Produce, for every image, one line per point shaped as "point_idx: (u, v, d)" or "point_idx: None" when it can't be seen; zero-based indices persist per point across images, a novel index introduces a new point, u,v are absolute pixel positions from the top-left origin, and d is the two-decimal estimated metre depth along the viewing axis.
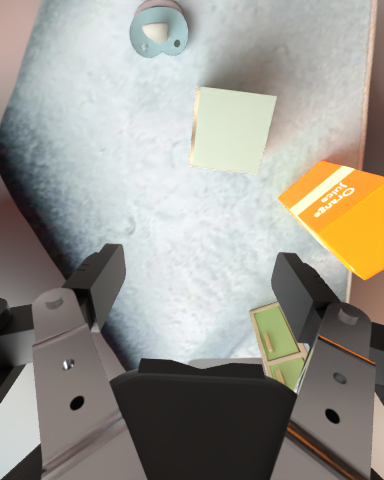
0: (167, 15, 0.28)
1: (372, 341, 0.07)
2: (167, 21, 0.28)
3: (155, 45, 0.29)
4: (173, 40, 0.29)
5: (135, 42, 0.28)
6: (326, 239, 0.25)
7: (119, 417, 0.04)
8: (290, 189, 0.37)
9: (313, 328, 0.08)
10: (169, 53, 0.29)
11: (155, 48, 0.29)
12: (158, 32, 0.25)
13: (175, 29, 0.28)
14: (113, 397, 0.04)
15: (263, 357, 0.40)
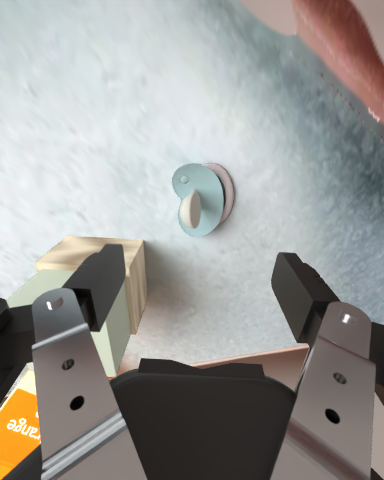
0: (216, 207, 0.23)
1: (372, 341, 0.07)
2: (210, 208, 0.23)
3: (187, 192, 0.22)
4: None
5: (185, 170, 0.20)
6: None
7: (119, 417, 0.04)
8: None
9: (313, 328, 0.08)
10: (180, 211, 0.23)
11: (184, 193, 0.22)
12: (184, 222, 0.19)
13: (203, 218, 0.23)
14: (113, 397, 0.04)
15: None
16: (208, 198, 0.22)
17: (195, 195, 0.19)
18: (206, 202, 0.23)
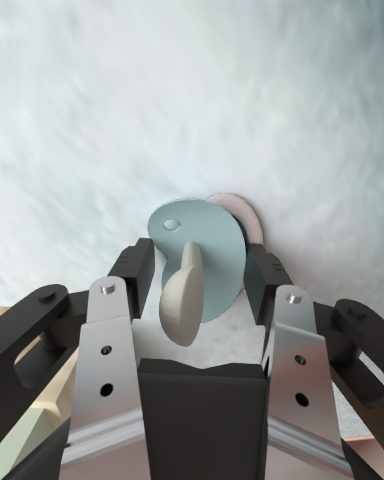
0: (231, 271, 0.13)
1: None
2: (221, 272, 0.13)
3: (178, 245, 0.12)
4: None
5: (174, 210, 0.10)
6: None
7: (140, 417, 0.04)
8: None
9: (267, 310, 0.09)
10: (165, 276, 0.13)
11: (172, 246, 0.12)
12: (168, 336, 0.08)
13: (207, 288, 0.13)
14: (138, 395, 0.04)
15: None
16: (217, 256, 0.12)
17: (193, 273, 0.09)
18: (213, 262, 0.12)
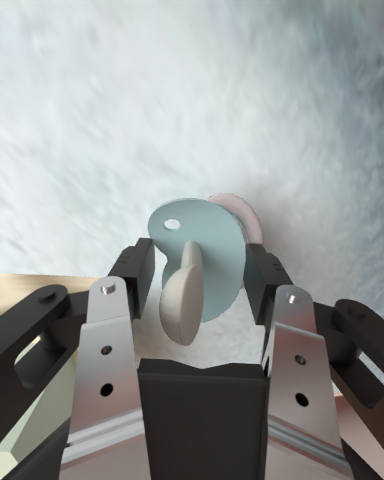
0: (231, 271, 0.13)
1: None
2: (221, 272, 0.13)
3: (178, 245, 0.12)
4: None
5: (174, 209, 0.10)
6: None
7: (140, 417, 0.04)
8: None
9: (267, 310, 0.09)
10: (165, 275, 0.13)
11: (172, 246, 0.12)
12: None
13: (207, 288, 0.13)
14: (138, 394, 0.04)
15: None
16: (217, 255, 0.12)
17: (193, 272, 0.09)
18: (213, 262, 0.12)
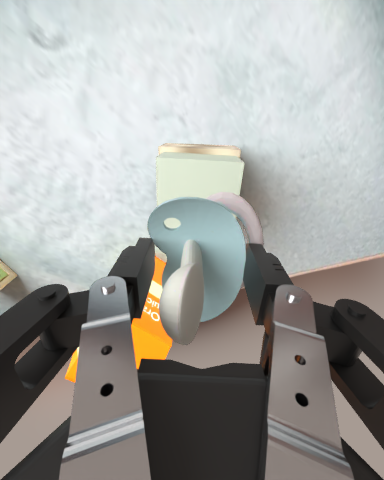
0: (231, 270, 0.13)
1: None
2: (221, 271, 0.12)
3: (178, 244, 0.12)
4: None
5: (174, 208, 0.10)
6: None
7: (140, 417, 0.04)
8: None
9: (267, 309, 0.09)
10: (165, 275, 0.13)
11: (172, 245, 0.12)
12: (167, 334, 0.08)
13: (207, 287, 0.13)
14: (139, 394, 0.04)
15: None
16: (217, 254, 0.12)
17: (193, 271, 0.09)
18: (213, 261, 0.12)
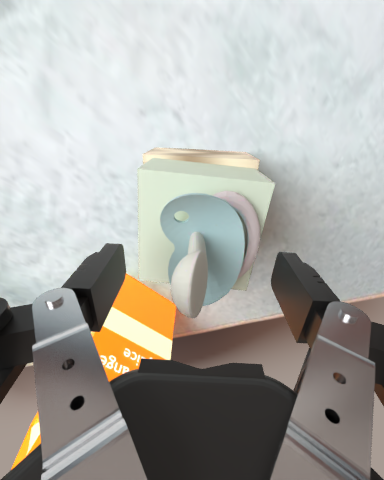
0: (230, 260, 0.14)
1: (371, 341, 0.07)
2: (222, 261, 0.14)
3: (185, 235, 0.13)
4: None
5: (185, 202, 0.12)
6: None
7: (119, 417, 0.04)
8: (138, 286, 0.29)
9: (313, 328, 0.08)
10: (171, 262, 0.14)
11: (180, 236, 0.13)
12: (177, 308, 0.10)
13: (208, 275, 0.14)
14: (113, 397, 0.04)
15: None
16: (219, 246, 0.14)
17: (201, 256, 0.10)
18: (215, 252, 0.14)
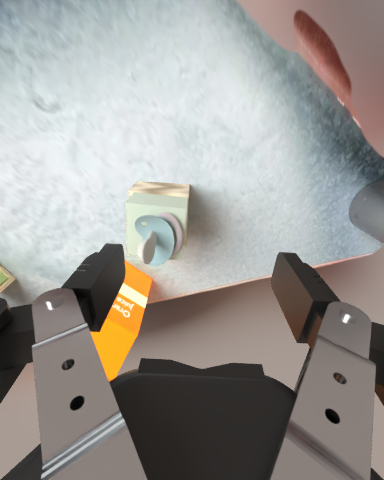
0: (169, 244, 0.30)
1: (372, 341, 0.07)
2: (165, 244, 0.30)
3: (147, 232, 0.29)
4: None
5: (144, 218, 0.27)
6: None
7: (119, 417, 0.04)
8: (126, 265, 0.45)
9: (313, 328, 0.08)
10: None
11: (144, 232, 0.29)
12: None
13: (159, 251, 0.30)
14: (113, 397, 0.04)
15: None
16: (163, 237, 0.30)
17: (149, 240, 0.26)
18: (161, 240, 0.30)
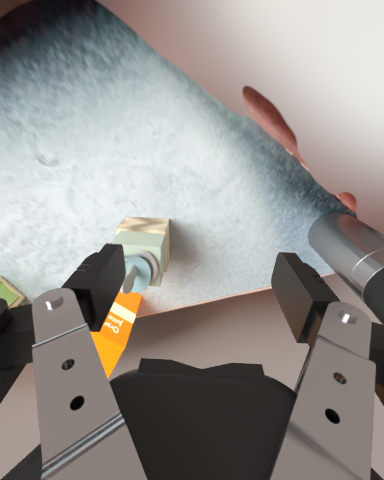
0: (147, 275, 0.37)
1: (372, 341, 0.07)
2: (143, 275, 0.37)
3: (129, 266, 0.36)
4: None
5: (126, 257, 0.34)
6: None
7: (119, 417, 0.04)
8: None
9: (313, 328, 0.08)
10: None
11: (127, 266, 0.36)
12: (120, 291, 0.33)
13: (139, 281, 0.37)
14: (113, 397, 0.04)
15: None
16: (142, 270, 0.37)
17: (128, 275, 0.33)
18: (141, 272, 0.37)
